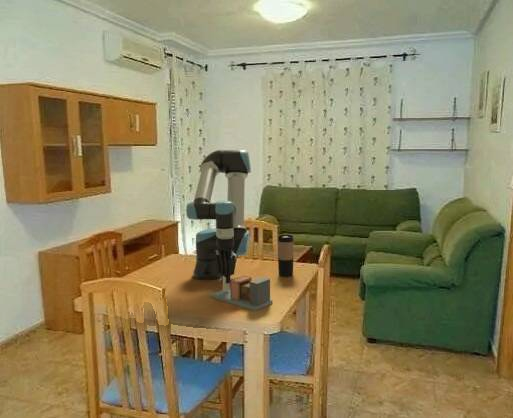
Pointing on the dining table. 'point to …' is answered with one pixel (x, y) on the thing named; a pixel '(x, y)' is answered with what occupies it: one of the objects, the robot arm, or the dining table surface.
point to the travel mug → (285, 255)
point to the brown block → (245, 291)
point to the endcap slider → (237, 286)
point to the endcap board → (257, 295)
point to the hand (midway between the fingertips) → (226, 289)
